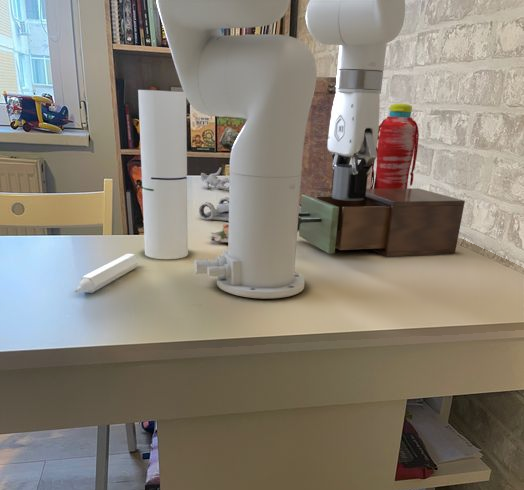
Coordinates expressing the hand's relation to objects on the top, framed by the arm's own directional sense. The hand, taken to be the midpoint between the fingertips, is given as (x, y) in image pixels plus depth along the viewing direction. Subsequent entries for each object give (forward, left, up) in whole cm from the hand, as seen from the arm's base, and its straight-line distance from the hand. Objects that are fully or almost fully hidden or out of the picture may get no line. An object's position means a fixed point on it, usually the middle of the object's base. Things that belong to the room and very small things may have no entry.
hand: (347, 194), depth 100 cm
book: (+9, +49, -10) cm, 51 cm away
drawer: (-2, 0, -9) cm, 9 cm away
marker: (-44, -13, -10) cm, 47 cm away
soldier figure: (-5, +73, -10) cm, 74 cm away
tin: (0, 0, -1) cm, 1 cm away
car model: (-9, +25, -10) cm, 28 cm away
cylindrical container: (-33, +1, -10) cm, 34 cm away
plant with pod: (-18, +8, -10) cm, 22 cm away
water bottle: (+17, +17, -10) cm, 26 cm away
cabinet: (+12, 0, -10) cm, 16 cm away
